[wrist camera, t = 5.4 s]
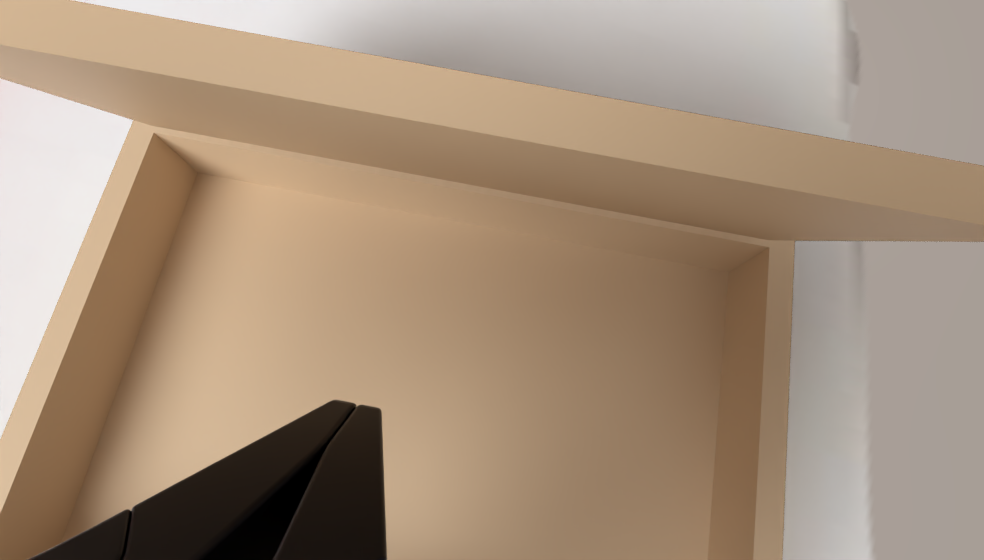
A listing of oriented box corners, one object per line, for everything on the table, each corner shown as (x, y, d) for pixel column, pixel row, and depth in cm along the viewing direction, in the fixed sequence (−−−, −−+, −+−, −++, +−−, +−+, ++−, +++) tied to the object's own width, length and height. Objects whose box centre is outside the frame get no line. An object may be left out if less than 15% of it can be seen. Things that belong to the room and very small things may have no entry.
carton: (711, 747, 17) (771, 828, 13) (24, 604, 17) (-87, 648, 14) (743, 260, 21) (795, 228, 17) (192, 157, 21) (138, 107, 18)
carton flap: (769, 240, 16) (1075, 242, 8) (151, 125, 17) (-256, -3, 8) (775, 214, 16) (1092, 184, 7) (154, 100, 17) (-252, -58, 8)
